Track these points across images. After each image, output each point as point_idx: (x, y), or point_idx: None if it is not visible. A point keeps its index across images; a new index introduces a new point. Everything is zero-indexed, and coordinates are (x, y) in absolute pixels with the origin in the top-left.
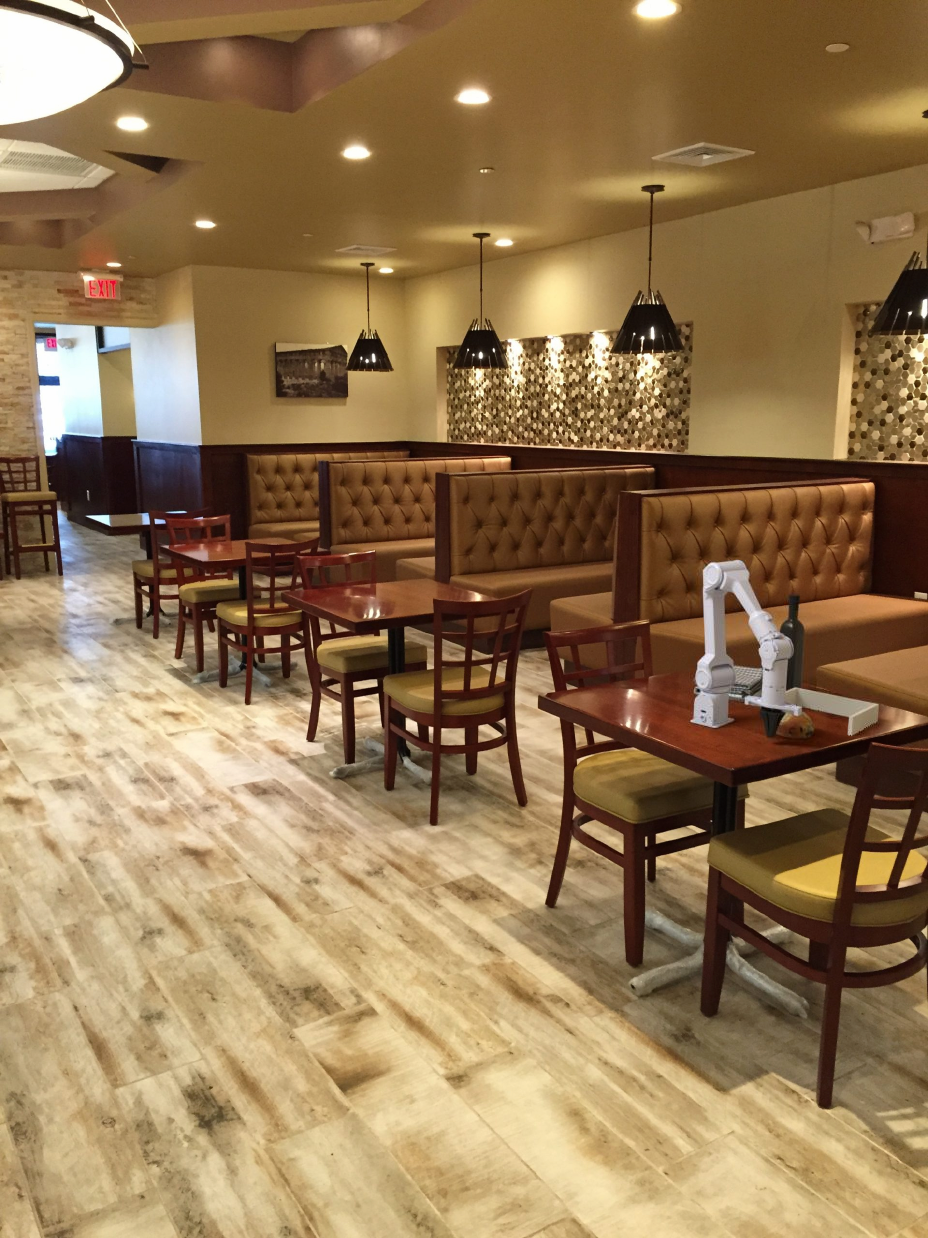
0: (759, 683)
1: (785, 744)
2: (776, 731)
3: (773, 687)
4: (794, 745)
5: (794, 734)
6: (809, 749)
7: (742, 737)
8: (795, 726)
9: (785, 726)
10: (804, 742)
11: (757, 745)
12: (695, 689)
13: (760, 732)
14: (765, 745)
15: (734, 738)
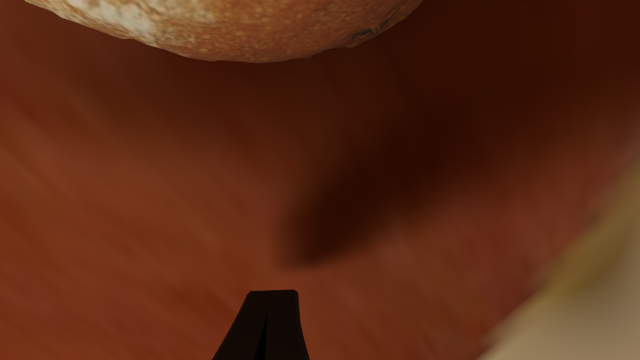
0: None
1: (373, 218)
2: (301, 329)
3: None
4: (441, 192)
5: (376, 35)
6: (576, 194)
7: (58, 293)
8: (389, 7)
9: (238, 60)
10: (493, 52)
11: None
12: None
13: (5, 87)
14: None
15: (50, 337)
